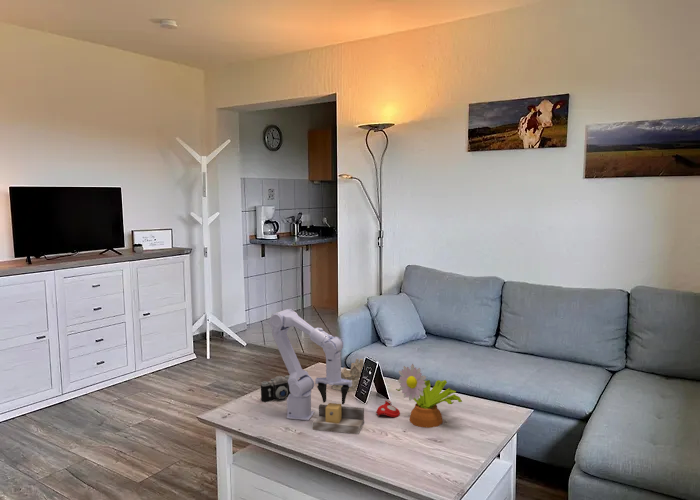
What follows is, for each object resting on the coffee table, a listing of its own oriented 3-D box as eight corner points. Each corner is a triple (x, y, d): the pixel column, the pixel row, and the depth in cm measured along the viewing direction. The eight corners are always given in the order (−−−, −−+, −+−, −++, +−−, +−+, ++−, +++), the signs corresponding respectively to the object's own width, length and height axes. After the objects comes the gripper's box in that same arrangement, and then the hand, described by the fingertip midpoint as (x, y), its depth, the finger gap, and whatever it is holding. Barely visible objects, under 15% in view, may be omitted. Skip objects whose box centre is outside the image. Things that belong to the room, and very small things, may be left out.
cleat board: (312, 429, 198) (312, 414, 198) (320, 418, 208) (320, 404, 207) (358, 434, 194) (358, 418, 193) (364, 422, 204) (363, 408, 203)
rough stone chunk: (372, 381, 249) (369, 351, 247) (359, 395, 234) (356, 363, 232) (342, 379, 255) (339, 350, 253) (328, 392, 240) (325, 361, 238)
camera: (265, 405, 222) (265, 382, 221) (259, 400, 228) (259, 378, 227) (296, 397, 230) (296, 376, 229) (290, 393, 236) (289, 371, 235)
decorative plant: (384, 420, 206) (383, 359, 203) (419, 402, 223) (419, 345, 220) (442, 441, 187) (442, 374, 185) (475, 419, 205) (476, 358, 202)
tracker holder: (405, 413, 210) (385, 412, 205) (401, 423, 211) (381, 422, 206) (390, 396, 220) (371, 395, 215) (387, 406, 221) (368, 405, 216)
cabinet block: (325, 423, 199) (324, 408, 198) (329, 417, 204) (329, 402, 204) (337, 425, 197) (337, 409, 197) (341, 418, 203) (341, 404, 202)
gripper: (312, 370, 199) (313, 404, 201) (348, 373, 195) (349, 408, 197) (318, 365, 206) (318, 397, 207) (353, 367, 202) (353, 401, 204)
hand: (334, 402), depth 203 cm, fingers open, 7 cm apart
